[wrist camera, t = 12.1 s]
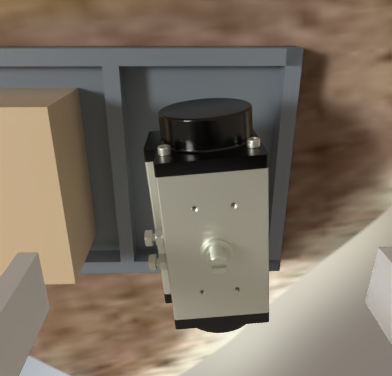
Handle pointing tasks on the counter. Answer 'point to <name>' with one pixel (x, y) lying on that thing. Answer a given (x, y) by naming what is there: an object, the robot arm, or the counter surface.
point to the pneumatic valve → (210, 213)
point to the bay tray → (120, 144)
